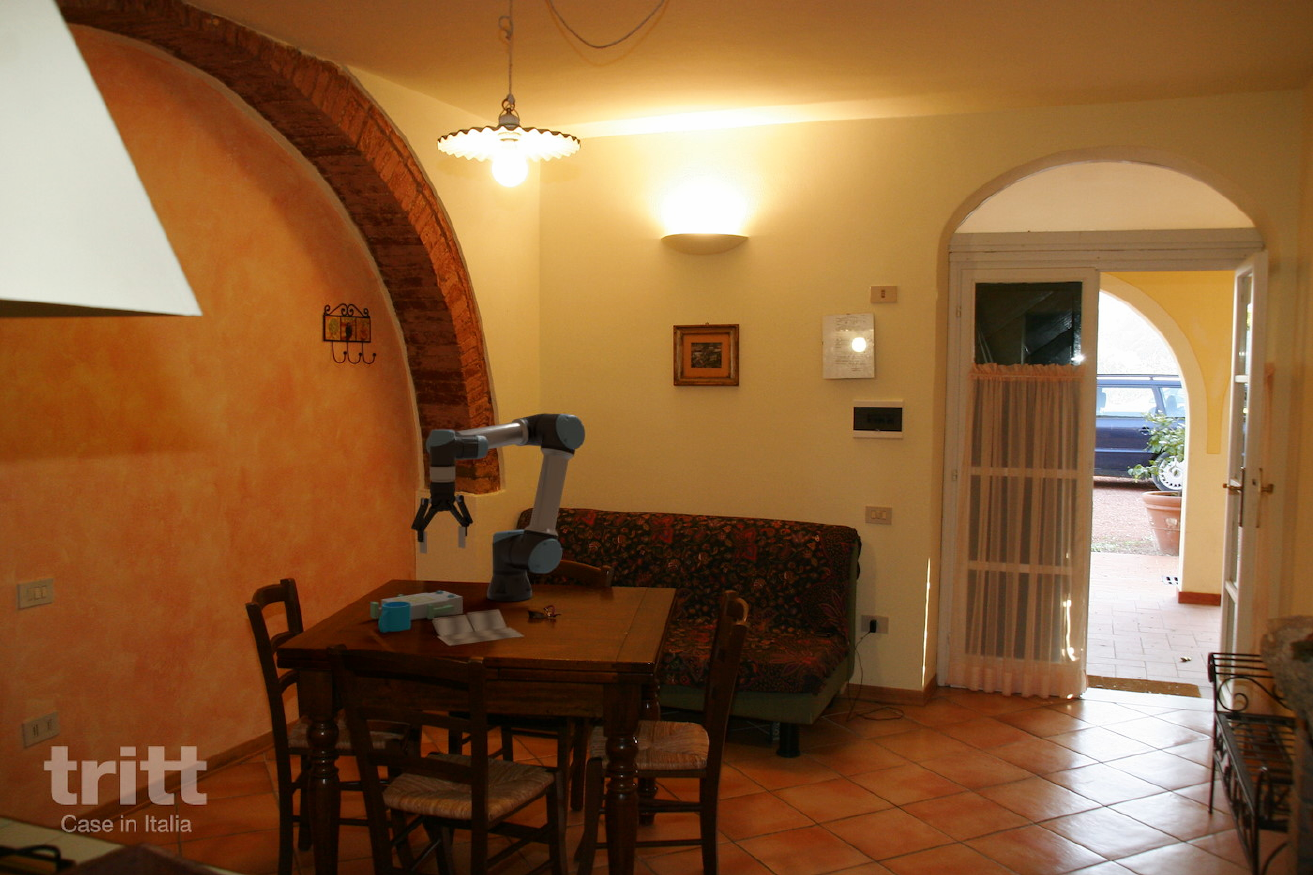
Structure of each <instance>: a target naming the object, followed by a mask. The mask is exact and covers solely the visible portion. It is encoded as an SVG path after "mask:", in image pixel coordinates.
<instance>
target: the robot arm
mask: <svg viewBox="0 0 1313 875" xmlns="http://www.w3.org/2000/svg"><path fill="white" fill-rule="evenodd" d="M585 440H586V431H585V426H584V424H583V422H582V421H581V419H580V418H579V417H577V416H576V415H573V414H568V413H537V414H533V415H528V416H525V417H519V418H515V419H512V421H511V422H508V423H502V424H501V423H500V424H496V425H495V424H493V425H489V426H482V427H477V428H469V429H464V430H458V431H455V430H454V429H432V430H431V431H430V432H429V436H428V437H427V439H426V442H425V449H426V451H427V453H428V454H429V479H430V480H431V481H430V482H429V493H430V497H429V498H427V497H421V498H420V503H419V507H418V509H417V511H416V515H415V516H414V519H413V522H412V525H411V527H410V528H411V530H413V531H416V532H417V543H419V553H421V554H428V532H427V530H426V529H427V528H428V526H429V524H430V523H431V522H432V520H433V519H434V517H435V515H436V514H438V512H439V513H440V512H441V513H442V512H450V513H451V515H452V516H453V517H454V518H455V520H456V521H457V522H458V523H459V525H460V526H459V525H458V527H457V528H458V529H457V530H458V531H457V536H458V538H457V540H458V541H457V542H458V545H457V546H458V548H461V549H466V538H467V537H468V527H470V526H471V525H472V524H474V521H473V519H472V515H471V514H470V512H469V509H468V507H467V505H466V501H465V497H464V495H463V494H456V495H455V493H456V482H455V479H456V461H461V460H478V459H483V458H485V457H486V456H487V455H488V453H489V450H490V449H496V448H497V449H498V448H502V447H508V446H509V447H510V446H513V445H515V446H517V447H524V446H532V447H533V446H535V447H540V452H541V453H542V455H543V459H542V464H541V466H540V467H541V468H540V472H539V476H538V477H539V478H538V483H537V486H536V487H537V488H536V492H535V496H534V498H535V499H534V503H533V507H532V512H531V516H530V522H529V525H528V526H526V527H525V528H524V529H511V530H504V531H503V530H502V531H497V532H495V533H494V534H493V535H492V543H491V547H492V549H491V550H492V575H491V579H490V583H489V585H488V589H487V592H486V594H487V595H486V596H487V599H489V600H491V601H496V602H518V601H519V602H520V601H526V600H528V599H531V598H532V596H533V591H532V586H531V583H530V581H529V577H528V572H532V573H533V574H534V573H535V574H548V573H551V572H552V571H553V570H555V569H556V568H557V567H558V566H559V564H560V562H561V561H562V560H561V559H562V557H563V548H562V547H561V546H562V545H561V543H560V542H559V541H558V539H559V534H558V532H557V531H556V525H557V520H558V516H559V513H560V512H559V511H560V506H561V501H562V500H561V499H562V495H563V490H564V486H565V480H566V476H567V469H568V466H569V465H568V464H569V461H570V459H572V458H573V457H575V453H576V450H577V449H580V448H581V446H583V444H584V442H585ZM455 502H456V504H457V506H458V507H456V505H455ZM429 505H430V506H429ZM458 508H459V510H458ZM459 511H460V512H459ZM425 530H426V531H425ZM527 571H528V572H527Z"/></svg>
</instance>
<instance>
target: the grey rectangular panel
mask: <svg viewBox="0 0 1313 875" xmlns="http://www.w3.org/2000/svg"><path fill="white" fill-rule="evenodd" d="M466 617H467V619H468V621H469V623H470V625H471V627H472V629H473V631H474V632H478V631H486V630H494V629H502V628H508V627H507V624H506V623H505V620H504V618H503V616H502V614H501V611H500V609H490V610H481V611H480V610H479V611H472V612H471V611H470V612H467V613H466Z"/></svg>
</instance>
